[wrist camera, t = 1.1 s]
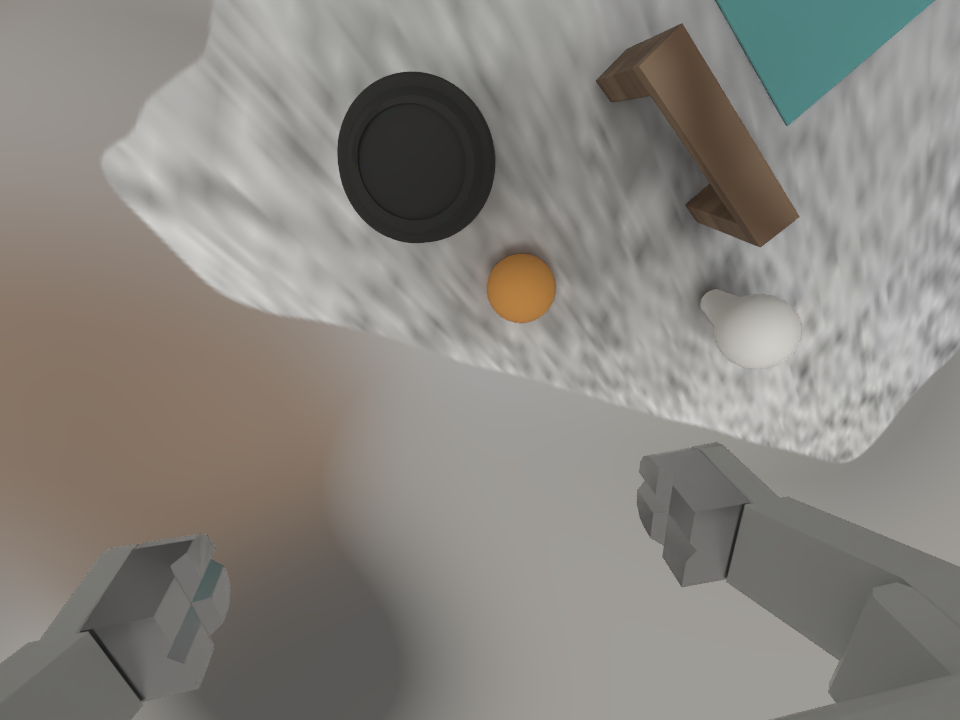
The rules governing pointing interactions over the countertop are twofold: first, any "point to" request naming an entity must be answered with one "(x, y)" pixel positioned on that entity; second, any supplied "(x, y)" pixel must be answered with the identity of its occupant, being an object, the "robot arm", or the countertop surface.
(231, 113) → the countertop surface
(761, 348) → the lightbulb
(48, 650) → the robot arm
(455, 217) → the coffee cup
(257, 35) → the countertop surface
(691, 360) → the countertop surface
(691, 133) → the bridge
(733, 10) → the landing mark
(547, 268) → the ball
